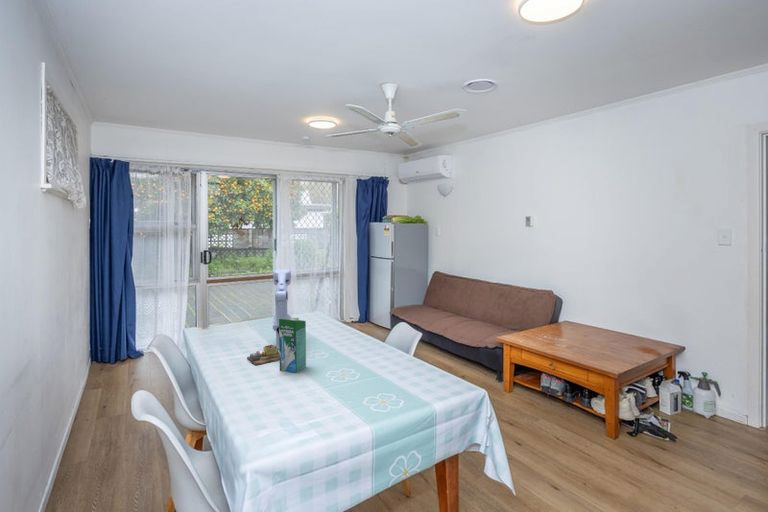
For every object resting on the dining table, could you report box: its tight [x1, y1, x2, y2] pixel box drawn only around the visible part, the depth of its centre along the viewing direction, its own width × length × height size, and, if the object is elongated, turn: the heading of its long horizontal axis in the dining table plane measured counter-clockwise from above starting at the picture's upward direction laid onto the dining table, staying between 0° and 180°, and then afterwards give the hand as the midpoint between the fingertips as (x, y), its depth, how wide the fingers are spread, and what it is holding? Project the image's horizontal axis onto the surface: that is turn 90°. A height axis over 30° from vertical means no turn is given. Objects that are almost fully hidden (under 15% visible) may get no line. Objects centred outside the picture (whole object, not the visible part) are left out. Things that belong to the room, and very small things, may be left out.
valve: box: [262, 344, 279, 357], centre depth 204 cm, size 8×4×6 cm, turn 129°
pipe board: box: [246, 350, 280, 367], centre depth 203 cm, size 16×12×5 cm
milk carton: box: [278, 316, 307, 374], centre depth 189 cm, size 9×9×25 cm
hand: (282, 339), depth 207 cm, fingers closed
